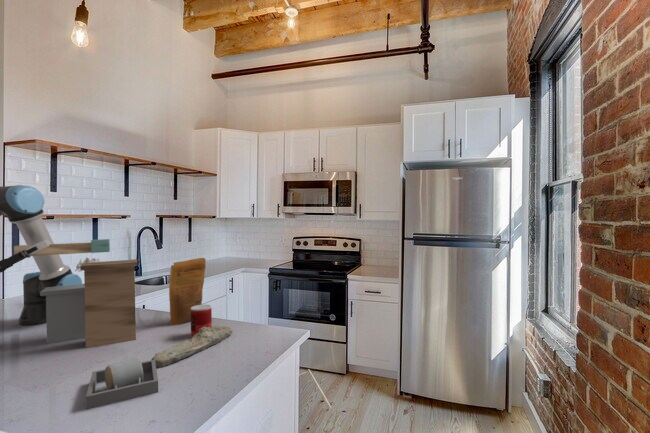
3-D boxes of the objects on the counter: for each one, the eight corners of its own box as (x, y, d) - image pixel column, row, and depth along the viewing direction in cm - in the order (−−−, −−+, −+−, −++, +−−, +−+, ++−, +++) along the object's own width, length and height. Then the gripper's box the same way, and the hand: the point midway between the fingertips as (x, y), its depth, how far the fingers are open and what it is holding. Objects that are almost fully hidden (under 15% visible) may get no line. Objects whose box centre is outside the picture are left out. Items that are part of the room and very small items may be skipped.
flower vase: (82, 307, 186) (81, 260, 186) (71, 302, 197) (71, 258, 197) (109, 302, 196) (108, 258, 196) (97, 297, 207) (97, 256, 207)
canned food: (215, 331, 140) (215, 305, 140) (202, 338, 133) (202, 310, 133) (200, 330, 143) (199, 303, 143) (186, 336, 135) (186, 308, 135)
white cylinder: (103, 388, 95) (103, 360, 95) (136, 378, 101) (135, 351, 101) (113, 403, 87) (113, 373, 87) (148, 391, 93) (147, 363, 93)
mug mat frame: (92, 382, 99) (92, 371, 99) (155, 369, 106) (154, 359, 106) (86, 409, 85) (85, 396, 85) (158, 391, 92) (158, 380, 92)
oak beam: (17, 255, 132) (17, 242, 132) (109, 250, 147) (109, 239, 147) (12, 257, 127) (12, 243, 127) (108, 251, 141) (108, 239, 141)
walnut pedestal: (85, 340, 134) (84, 262, 134) (138, 331, 142) (137, 259, 142) (82, 349, 124) (80, 266, 124) (138, 339, 133) (137, 262, 133)
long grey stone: (143, 369, 110) (165, 377, 106) (142, 353, 110) (164, 360, 105) (219, 330, 142) (238, 334, 137) (219, 317, 141) (238, 321, 137)
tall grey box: (47, 337, 138) (46, 287, 138) (106, 328, 147) (105, 281, 147) (41, 345, 129) (40, 291, 129) (104, 335, 139) (103, 285, 139)
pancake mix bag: (211, 317, 162) (209, 257, 162) (172, 328, 146) (171, 262, 146) (202, 314, 166) (201, 256, 166) (164, 325, 150) (163, 261, 150)
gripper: (-8, 282, 132) (58, 249, 142) (-25, 290, 118) (49, 252, 128) (-22, 266, 130) (46, 233, 140) (-40, 272, 116) (36, 235, 126)
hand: (47, 242), depth 134 cm, fingers closed on oak beam, 3 cm apart
